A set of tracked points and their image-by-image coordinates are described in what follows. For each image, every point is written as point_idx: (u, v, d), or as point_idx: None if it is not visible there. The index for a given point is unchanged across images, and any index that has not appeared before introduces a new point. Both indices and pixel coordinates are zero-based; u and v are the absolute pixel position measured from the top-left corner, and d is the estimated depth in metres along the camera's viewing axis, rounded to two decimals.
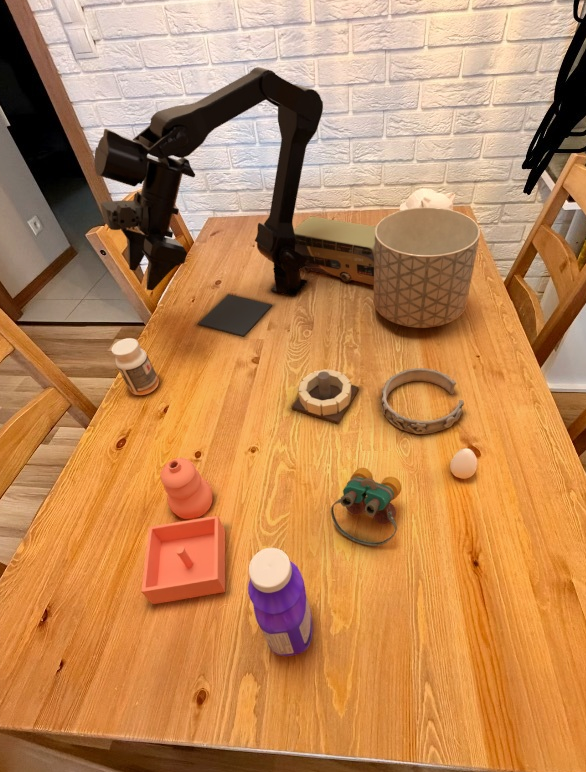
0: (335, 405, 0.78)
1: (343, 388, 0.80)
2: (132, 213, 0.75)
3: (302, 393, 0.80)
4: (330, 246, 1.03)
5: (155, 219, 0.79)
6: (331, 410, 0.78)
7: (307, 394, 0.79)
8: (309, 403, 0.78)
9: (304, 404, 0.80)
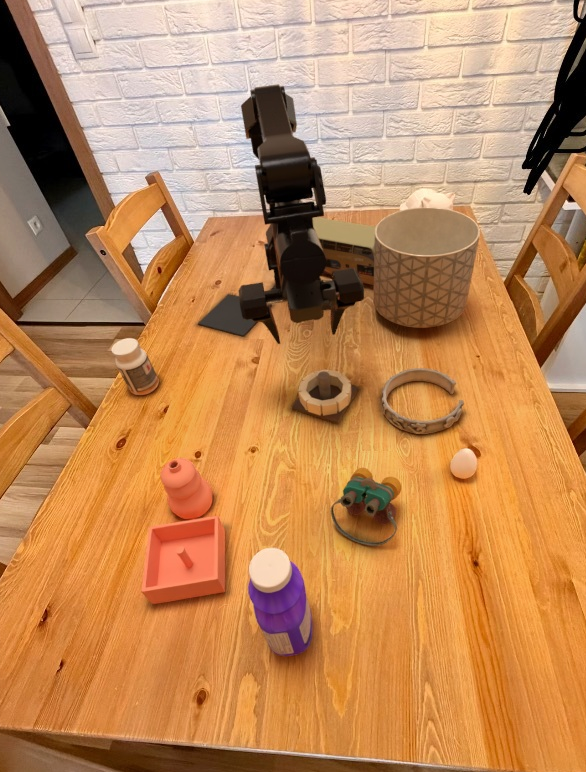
0: (335, 405, 0.78)
1: (343, 388, 0.80)
2: None
3: (302, 393, 0.80)
4: (330, 246, 1.03)
5: None
6: (331, 410, 0.78)
7: (307, 394, 0.79)
8: (309, 403, 0.78)
9: (304, 404, 0.80)
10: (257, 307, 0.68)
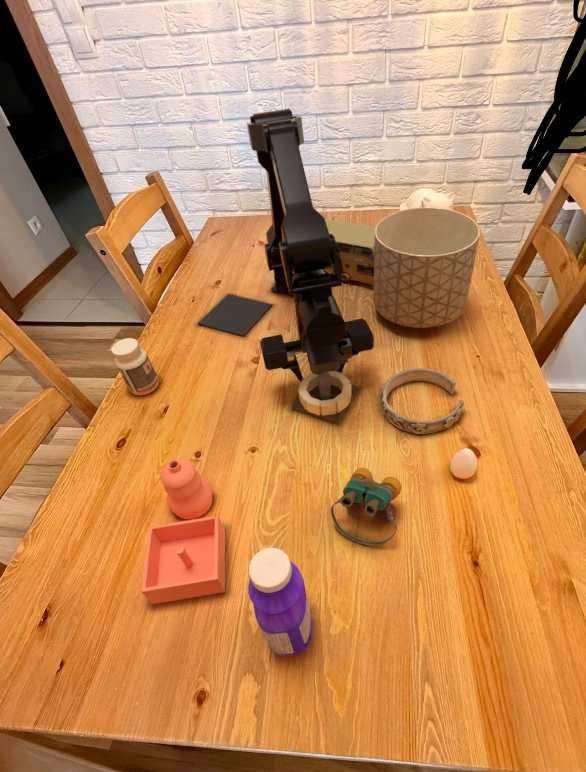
0: (334, 406, 0.77)
1: (343, 389, 0.80)
2: None
3: (302, 392, 0.80)
4: None
5: None
6: (330, 410, 0.78)
7: (307, 394, 0.79)
8: (308, 403, 0.78)
9: (303, 403, 0.80)
10: (279, 359, 0.75)
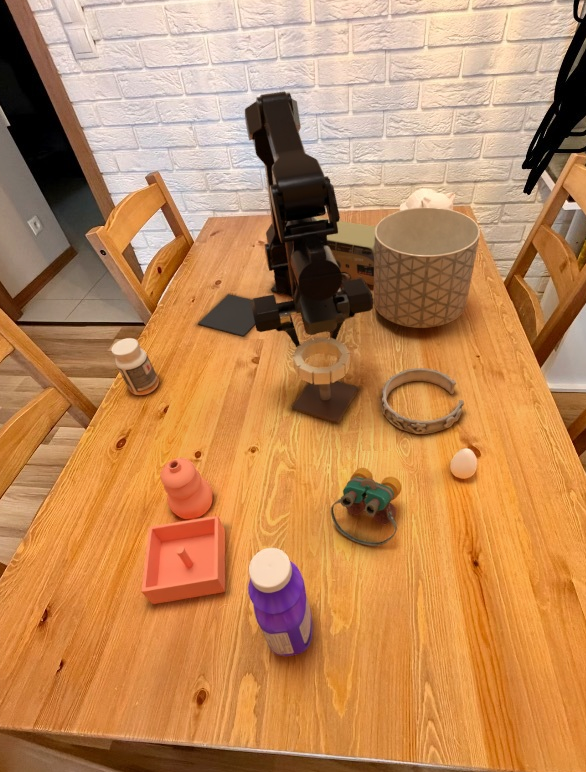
0: (328, 374, 0.72)
1: (340, 358, 0.74)
2: None
3: (296, 358, 0.74)
4: (330, 246, 1.03)
5: None
6: (323, 379, 0.73)
7: (301, 359, 0.74)
8: (301, 368, 0.73)
9: (296, 370, 0.74)
10: (271, 320, 0.69)
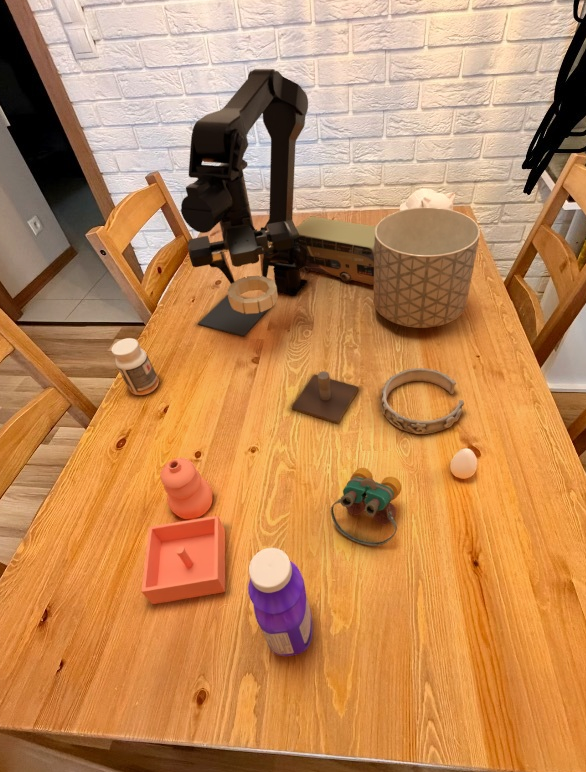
0: (256, 303, 0.83)
1: (268, 291, 0.85)
2: None
3: (229, 291, 0.85)
4: (331, 246, 1.03)
5: (252, 224, 0.81)
6: (253, 308, 0.84)
7: (234, 293, 0.85)
8: (233, 300, 0.84)
9: (230, 302, 0.85)
10: (204, 256, 0.81)
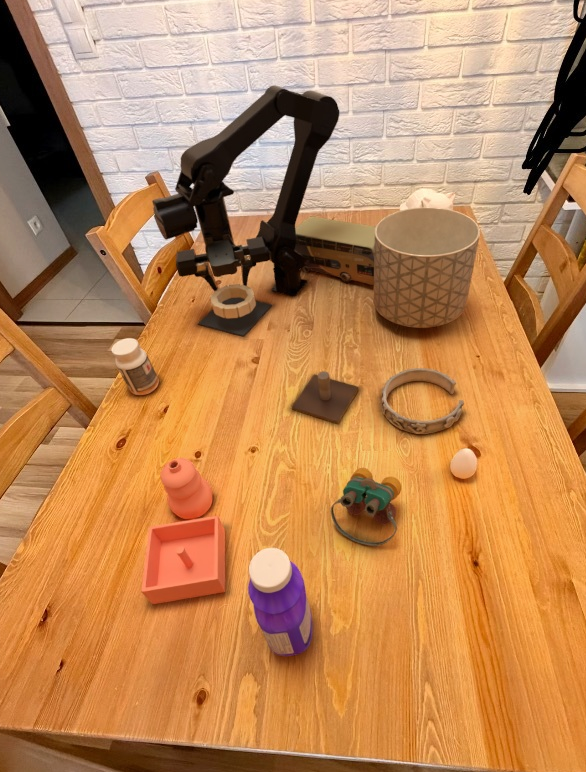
0: (235, 309, 0.94)
1: (246, 298, 0.96)
2: None
3: (212, 298, 0.96)
4: (331, 246, 1.03)
5: (232, 240, 0.92)
6: (232, 314, 0.94)
7: (216, 299, 0.96)
8: (215, 306, 0.94)
9: (213, 307, 0.96)
10: (189, 267, 0.91)
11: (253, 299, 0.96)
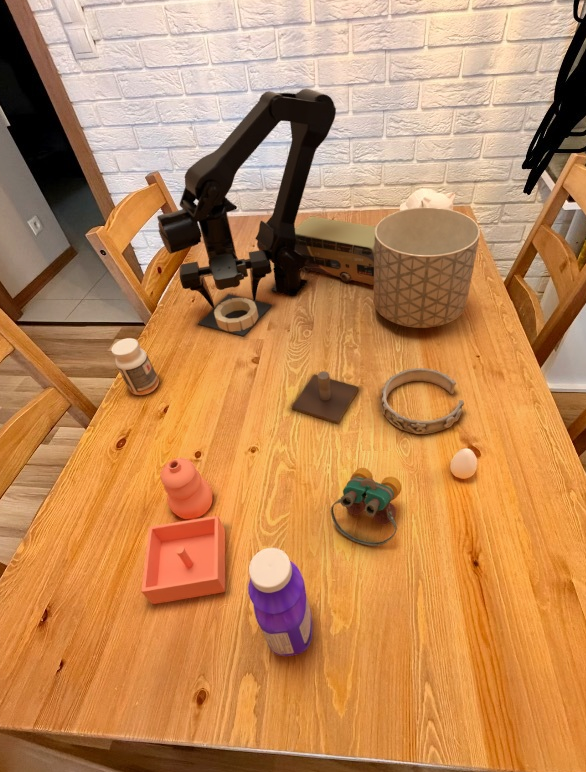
0: (238, 323, 0.96)
1: (249, 311, 0.98)
2: None
3: (216, 312, 0.99)
4: (331, 246, 1.03)
5: (235, 253, 0.94)
6: (235, 327, 0.97)
7: (219, 313, 0.98)
8: (218, 320, 0.97)
9: None
10: (192, 279, 0.93)
11: (255, 312, 0.98)
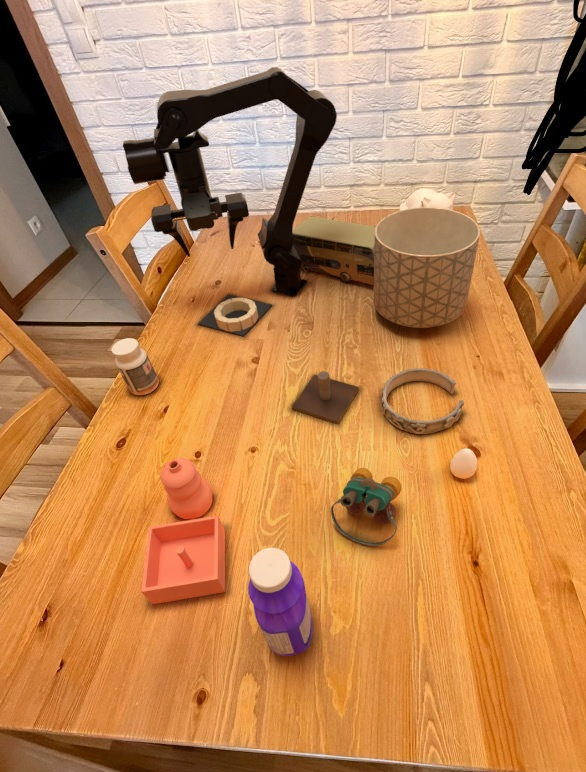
0: (238, 323, 0.96)
1: (249, 311, 0.98)
2: None
3: (216, 312, 0.99)
4: (330, 246, 1.03)
5: (209, 193, 0.89)
6: (235, 327, 0.97)
7: (219, 313, 0.98)
8: (218, 320, 0.97)
9: None
10: (164, 221, 0.88)
11: (255, 312, 0.98)
